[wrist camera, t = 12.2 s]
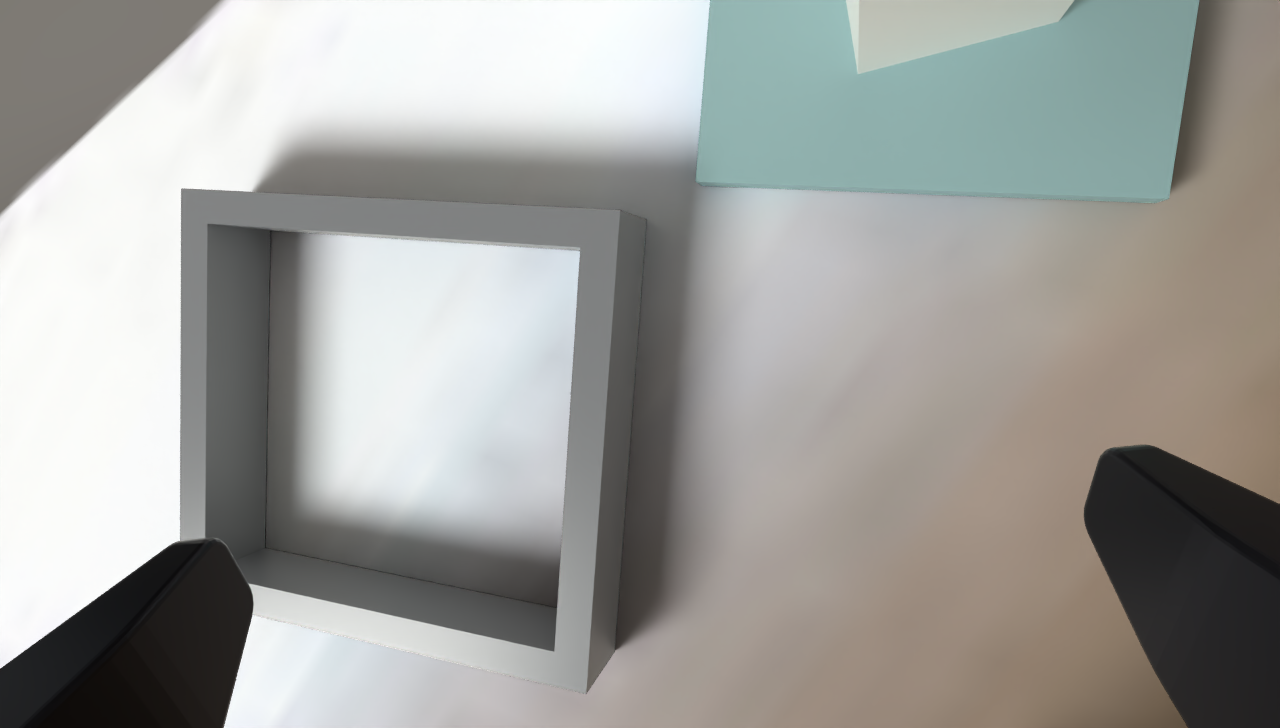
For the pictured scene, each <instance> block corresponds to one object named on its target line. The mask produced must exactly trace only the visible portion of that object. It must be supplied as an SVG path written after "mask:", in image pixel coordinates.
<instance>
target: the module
mask: <svg viewBox="0 0 1280 728" xmlns="http://www.w3.org/2000/svg"><path fill="white" fill-rule="evenodd" d="M1073 2H1074V0H846V4H847V10H848V17H849V23H850V29H851V35H852V41H853V47H854V53H855V59H856V65H857V72H858V74H861V73H865V72H868V71H872V70H876V69H880V68H884V67H888V66H891V65H895V64H899V63H903V62H907V61H910V60H914V59H918V58H922V57H926V56H930V55H933V54H937V53H941V52H945V51H949V50H952V49H956V48H960V47H964V46H968V45H971V44H975V43H979V42H983V41H987V40H991V39H994V38H998V37H1002V36H1006V35H1010V34H1013V33H1017V32H1021V31H1025V30H1029V29H1033V28H1036V27H1040V26H1044V25H1048V24H1052V23H1055V22H1059V20H1060V19H1061V18H1062V16H1063V15H1064V14H1065V12H1066V11H1067V10H1068V8H1069V7H1070V6H1071V4H1072V3H1073Z"/></svg>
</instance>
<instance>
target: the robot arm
mask: <svg viewBox="0 0 1280 728" xmlns="http://www.w3.org/2000/svg"><path fill="white" fill-rule="evenodd" d="M1084 521H1085V526H1086V529H1087V532H1088V534H1089V536H1090V539H1091V541H1092V543H1093V545H1094V547H1095V549H1096V551H1097V553H1098V555H1099V558H1100V560H1101V562H1102V564H1103V566H1104V568H1105V570H1106V572H1107V574H1108V576H1109V579H1110V581H1111V583H1112V585H1113V587H1114V589H1115V591H1116V593H1117V595H1118V597H1119V600H1120V602H1121V604H1122V606H1123V608H1124V610H1125V612H1126V614H1127V616H1128V619H1129V621H1130V623H1131V625H1132V627H1133V629H1134V631H1135V633H1136V635H1137V637H1138V640H1139V642H1140V644H1141V646H1142V648H1143V650H1144V652H1145V654H1146V656H1147V658H1148V660H1149V661H1150V663H1151V665H1152V667H1153V669H1154V671H1155V673H1156V675H1157V676H1158V678H1159V680H1160V682H1161V683H1162V685H1163V687H1164V688H1165V690H1166V692H1167V694H1168V695H1169V697H1170V699H1171V700H1172V702H1173V704H1174V705H1175V707H1176V709H1177V710H1178V712H1179V713H1180V715H1181V717H1182V718H1183V720H1184V722H1185V723H1186V725H1187V727H1188V728H1280V504H1278V503H1276V502H1274V501H1272V500H1270V499H1268V498H1265V497H1263V496H1261V495H1259V494H1257V493H1255V492H1252V491H1250V490H1248V489H1246V488H1244V487H1242V486H1239V485H1237V484H1235V483H1233V482H1231V481H1229V480H1226V479H1224V478H1222V477H1220V476H1218V475H1216V474H1214V473H1211V472H1209V471H1207V470H1205V469H1203V468H1201V467H1198V466H1196V465H1194V464H1192V463H1190V462H1188V461H1185V460H1183V459H1181V458H1179V457H1177V456H1175V455H1172V454H1170V453H1168V452H1166V451H1164V450H1162V449H1159V448H1157V447H1155V446H1151V445H1134V446H1124V447H1114V448H1110V449H1107V450H1106V451H1105V452H1104V453H1103V454H1102V455H1101V456H1100V458H1099V460H1098V463H1097V467H1096V470H1095V473H1094V477H1093V480H1092V483H1091V486H1090V490H1089V493H1088V496H1087V500H1086V503H1085V507H1084ZM253 606H254V602H253V594H252V590H251V588H250V586H249V584H248V582H247V581H246V579H245V577H244V575H243V573H242V572H241V570H240V568H239V566H238V564H237V563H236V561H235V559H234V557H233V555H232V554H231V552H230V550H229V548H228V547H227V545H226V544H225V543H224V542H223V541H221V540H220V539H218V538H213V537H209V538H199V539H189V540H182V541H178V542H175V543H173V544H171V545H170V546H168V547H167V548H165V549H164V550H163V551H161V552H160V553H159V554H157V555H156V556H154V557H153V558H152V559H150V560H149V561H148V562H146V563H145V564H143V565H142V566H141V567H139V568H138V569H137V570H135V571H134V572H132V573H131V574H130V575H128V576H127V577H126V578H124V579H123V580H121V581H120V582H119V583H117V584H116V585H115V586H113V587H112V588H110V589H109V590H108V591H106V592H105V593H104V594H102V595H101V596H99V597H98V598H97V599H95V600H94V601H93V602H91V603H90V604H88V605H87V606H86V607H84V608H83V609H82V610H80V611H79V612H77V613H76V614H75V615H73V616H72V617H71V618H69V619H68V620H66V621H65V622H64V623H62V624H61V625H60V626H58V627H57V628H55V629H54V630H53V631H51V632H50V633H49V634H47V635H46V636H44V637H43V638H42V639H40V640H39V641H38V642H36V643H35V644H34V645H32V646H31V647H29V648H28V649H27V650H25V651H24V652H23V653H21V654H20V655H18V656H17V657H16V658H14V659H13V660H12V661H10V662H9V663H7V664H6V665H5V666H3V667H2V668H1V669H0V728H224V724H225V720H226V716H227V712H228V708H229V705H230V701H231V697H232V693H233V689H234V685H235V681H236V677H237V673H238V669H239V665H240V662H241V658H242V654H243V650H244V646H245V642H246V638H247V634H248V630H249V626H250V623H251V619H252V614H253Z"/></svg>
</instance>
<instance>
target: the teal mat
mask: <svg viewBox="0 0 1280 728" xmlns="http://www.w3.org/2000/svg"><path fill="white" fill-rule="evenodd" d="M1198 6H1199V0H1074V2H1073V3H1072V4H1071V6H1070V7H1069V8H1068V10H1067V11H1066V12H1065V14H1064V15H1063V16H1062V18H1061V19H1060V20H1059V22H1055V23H1052V24H1048V25H1044V26H1040V27H1036V28H1033V29H1029V30H1025V31H1021V32H1017V33H1013V34H1010V35H1006V36H1002V37H998V38H994V39H991V40H987V41H983V42H979V43H975V44H971V45H968V46H964V47H960V48H956V49H952V50H949V51H945V52H941V53H937V54H933V55H930V56H926V57H922V58H918V59H914V60H910V61H907V62H903V63H899V64H895V65H891V66H888V67H884V68H880V69H876V70H872V71H868V72H865V73H861V74H858V72H857V65H856V59H855V53H854V47H853V41H852V35H851V29H850V23H849V17H848V10H847V4H846V0H710V8H709V20H708V32H707V45H706V57H705V69H704V82H703V94H702V106H701V119H700V131H699V143H698V156H697V168H696V180H695V182H697V183H698V184H700V185H701V186H719V187H746V188H772V189H798V190H824V191H850V192H876V193H903V194H929V195H955V196H981V197H1007V198H1033V199H1060V200H1086V201H1112V202H1138V203H1157V202H1160V201H1164V200H1167V199H1169V195H1170V188H1171V182H1172V175H1173V169H1174V162H1175V156H1176V149H1177V143H1178V136H1179V130H1180V123H1181V117H1182V110H1183V103H1184V97H1185V90H1186V84H1187V77H1188V71H1189V64H1190V58H1191V51H1192V45H1193V38H1194V32H1195V25H1196V19H1197V12H1198Z"/></svg>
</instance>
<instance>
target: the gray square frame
mask: <svg viewBox="0 0 1280 728" xmlns="http://www.w3.org/2000/svg"><path fill="white" fill-rule="evenodd" d="M646 223H647V220H646V219H644V218H641V217H638V216H636V215H633V214H630V213H627V212H625V211H622V210H613V209H592V208H572V207H551V206H531V205H510V204H490V203H469V202H448V201H428V200H407V199H387V198H366V197H346V196H325V195H304V194H284V193H263V192H243V191H222V190H202V189H181V429H180V541H182V540H189V539H199V538H209V537H213V538H218V539H220V540H221V541H223V542H224V543H225V544H226V545H227V547H228V548H229V550H230V552H231V554H232V555H233V557H234V559H235V561H236V563H237V564H238V566H239V568H240V570H241V572H242V573H243V575H244V577H245V579H246V581H247V582H248V584H249V586H250V588H251V590H252V594H253V602H254V606H253V614H252V615H255V616H259V617H263V618H267V619H271V620H276V621H280V622H284V623H288V624H293V625H297V626H301V627H305V628H309V629H314V630H318V631H322V632H326V633H330V634H335V635H339V636H343V637H347V638H352V639H356V640H360V641H364V642H368V643H373V644H377V645H381V646H385V647H389V648H394V649H398V650H402V651H406V652H410V653H415V654H419V655H423V656H427V657H432V658H436V659H440V660H444V661H448V662H453V663H457V664H461V665H465V666H469V667H474V668H478V669H482V670H486V671H491V672H495V673H499V674H503V675H507V676H512V677H516V678H520V679H524V680H528V681H533V682H537V683H541V684H545V685H549V686H554V687H558V688H562V689H566V690H571V691H575V692H579V693H583V694H587V692H588V691H589V689H590V688H591V686H592V685H593V683H594V682H595V680H596V679H597V677H598V676H599V674H600V673H601V671H602V670H603V668H604V667H605V665H606V664H607V663H608V661H609V660H610V658H611V657H612V655H613V654H614V652H615V641H616V628H617V614H618V601H619V587H620V574H621V560H622V547H623V533H624V520H625V506H626V493H627V479H628V466H629V452H630V439H631V425H632V412H633V398H634V385H635V371H636V358H637V344H638V331H639V317H640V304H641V290H642V277H643V263H644V250H645V236H646ZM270 231H284V232H300V233H315V234H330V235H346V236H361V237H376V238H392V239H407V240H422V241H438V242H453V243H468V244H483V245H499V246H514V247H529V248H545V249H560V250H575V251H580V262H579V277H578V293H577V308H576V324H575V339H574V355H573V370H572V386H571V402H570V417H569V433H568V448H567V464H566V479H565V495H564V510H563V526H562V542H561V557H560V573H559V588H558V604H557V608H554V607H549V606H544V605H539V604H534V603H530V602H525V601H520V600H515V599H510V598H505V597H501V596H496V595H491V594H486V593H481V592H476V591H471V590H467V589H462V588H457V587H452V586H447V585H442V584H438V583H433V582H428V581H423V580H418V579H413V578H408V577H404V576H399V575H394V574H389V573H384V572H379V571H374V570H370V569H365V568H360V567H355V566H350V565H345V564H341V563H336V562H331V561H326V560H321V559H316V558H311V557H307V556H302V555H297V554H292V553H287V552H282V551H278V550H273V549H268V548H265V516H266V457H267V398H268V338H269V279H270Z"/></svg>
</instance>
